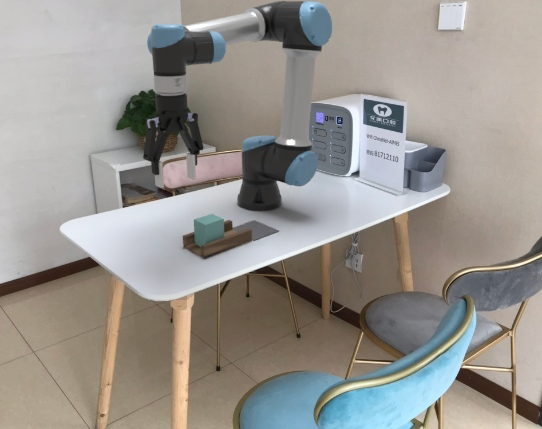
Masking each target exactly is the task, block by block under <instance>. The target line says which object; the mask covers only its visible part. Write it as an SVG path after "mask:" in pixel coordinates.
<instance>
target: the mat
mask: <svg viewBox="0 0 542 429" xmlns="http://www.w3.org/2000/svg"><path fill="white" fill-rule="evenodd" d="M248 228H249V229H251V230H252V241H254V242H255V241H259V240H260V239H263V238H266V237H268V236H270V235H273V234H275V233H278V232H280V230H278V229H276V228H275V227H272V226H270V225H268V224H265V223H262V222H260V221H257V220H255V219H254V220H251V221H248V222H244V223H241V224H239V225H236V226H233V230H235V231H237V232H240V231H243V230H245V229H248Z"/></svg>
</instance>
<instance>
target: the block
mask: <svg viewBox="0 0 542 429" xmlns="http://www.w3.org/2000/svg"><path fill="white" fill-rule="evenodd" d="M224 221H225V219H224V218H223V217H221V216H219V215H216V214H214V213H209V214H206V215H204V216H200V217H197V218H193V229H194V230H193V232H194V237H195V244H196V245H198V246H199V247H201V245H204V244H207V243H209V242H212V241H215V240H218V239H220V238H223V237H224Z"/></svg>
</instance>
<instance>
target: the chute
mask: <svg viewBox="0 0 542 429" xmlns="http://www.w3.org/2000/svg"><path fill="white" fill-rule="evenodd" d="M233 225H234V224H233V220H231V219H228V220H224V237H223V238H220V239H218V240H215V241H212V242H209V243H207V244H204V245H201V247H199V246H198V245H196V244H195V237H194V231H192V232H189V233H186V234H184V235H182V247H183V248H185V249H186V250H188V251H190V252H192V253H193V254H195V255H197V256H199V257H201V258H203V259H208V258H210V257H213V256H216V255H219V254H221V253H223V252H226V251H230V250H231V249H234V248H236V247H239V246H242V245H244V244H245V245H246V244H247V243H250V242H252V241H253V240H252V230H251V229H249V228H248V229H245V230H243V231H240V232H237V231H235V230H233V227H234V226H233Z"/></svg>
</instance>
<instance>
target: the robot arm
mask: <svg viewBox="0 0 542 429" xmlns="http://www.w3.org/2000/svg"><path fill="white" fill-rule="evenodd" d="M332 32H333V20H332V17H331V14H330V12H329V10H328V8H327V7H326V5H324V4H323V3H322V2H321V3H320V2H317V1H312V0H311V1H310V0H309V1H307V0H305V1H304V0H303V1H302V0H301V1H299V0H296V1H291V0H289V1H288V0H278V1H274V2H269V3H266V4H262V5H258V6H254V7H251V8H247V9H245V11H244V12H243V13H239V14H234V15H230V16H229V15H228V16H226V17H225V16H224V17H221V18H216V19H215V18H214V19H210V20H205V21H200V22H195V23H191V24H186V25H182V24H178V23H177V24H175V23H169V24H168V23H167V24H166V23H165V24H164V23H163V24H162V23H161V24H153V25H152V27H151V32H150V33H149V34H148V37H147V40H146V42H147V43H146V44H147V50H148V51H149V53H150V54H151V56H152V69H153V82H154V83H153V85H154V86H153V87H154V89H153V90H154V92H155V95H154V97H155V98H154V99H155V101H154V102H155V110H156V116H155V117H154V118H151V119H149V118H146V119H145V120H144V121H145V126H146V133H145V140H144V148H143V156H142V157H143V160H144V161H147V162H149V163H150V166H151V173H152V174H153V175H154V183H155V184H154V185H155V186H156V187H159V188H160V189H164V188H165V183H164V181H165V178H164V168H163V167H164V164H163V161H161V157H162V154H163V152H164V149H165V146H166V143H167V140H168V137H170V135H171V133H175V132H178V133H179V135H180V136H181V139H182V142H183V143H184V144H185V147H186V148H187V151H188V152H186V155H185V156H186V157H185V158H186V177H187V178H188V179H190V180H192V181H193V180H196V179H197V178H196V177H197V176H196V174H197V173H196V172H197V171H196V170H197V169H196V166H197V165H198V155H200V154H201V152H200V151H203V150H204V148H205V147H204V144H203V140H202V135H201V130H200V127H199V124H198V123H199V122H198V120H199V114H198V113H196V112H191V111H189V112H188V111H187V109H188V95H187V93H186V92H187V66H193V65H196V66H197V65H205V64H208V65H212V64H215V63H219V62H221V61H222V60H223V59H224V57H225V55H226V48H227V46H231V45H234V44H238V43H243V42H247V41H250V42H252V43H258V42H261V41H268V42H280V43H282V44H281V45H282V47H281V50H282V51H283V52H284V54H285V55H286V60H285V71H284V73H285V74H284V85H283V96H282V98H283V99H282V108H281V109H282V111H281V121H280V123H281V124H280V134H279V136H278V137H277V136H276V135H258V136H257V135H255V136H250V137H247V138H245V139H244V140H243V141H242V145H241V173H242V174H241V175H242V180H241V181H242V182H241V185H240V188H239V193H238V194H237V199H236V200H237V202H236V203H237V206H238V207H240V208H241V209H243V210H245V211H246V210H248V211H253V212H266V211H273V210H275V209H277V208H280V207H281V205H282V203H283V202H282V201H283V200H282V194H281V192H280V188H279V185H278V184H279V183H278V182H281V183H284V184H286V185H288V186H294V187H303V186H305V185H307V184H308V183H309V182H310V181H311V180H312V179H313V178H314V176H315V175H316V172H317V170H318V167H319V166H318V165H319V158H318V156H317V154H316V153H315V152H314V151H312V146H313V143H312V142H311V140H310V139H309V128H310V120H311V109H312V98H313V87H314V77H315V67H316V58H317V57H318V56H319V55H320V54H321V53H322V47H323V46H325V45H327V43H328V42H329V39H331V37H332ZM186 122H187V123H188V124H186ZM187 125H188V126H187ZM188 127H189V128H188ZM157 128H158V130H157ZM189 130H190V132H189Z"/></svg>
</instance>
